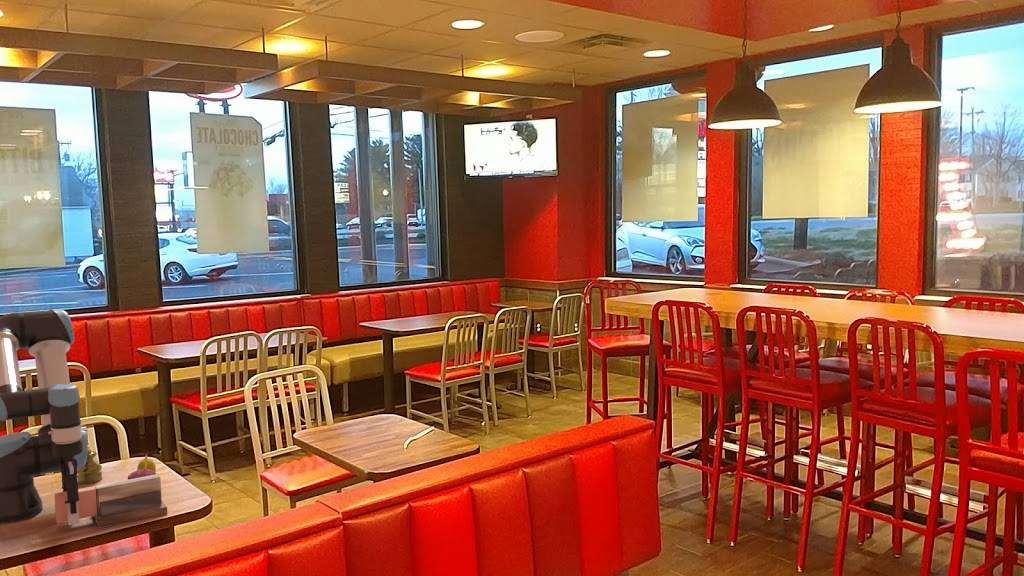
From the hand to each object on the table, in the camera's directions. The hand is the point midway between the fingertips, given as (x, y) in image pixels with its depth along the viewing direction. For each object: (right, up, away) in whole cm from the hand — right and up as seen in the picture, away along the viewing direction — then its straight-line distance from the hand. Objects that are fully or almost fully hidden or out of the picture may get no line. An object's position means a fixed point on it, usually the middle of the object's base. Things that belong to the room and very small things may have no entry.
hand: (72, 519), depth 228 cm
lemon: (+5, +2, +36) cm, 37 cm away
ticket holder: (+12, -1, +9) cm, 15 cm away
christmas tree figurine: (-15, +2, +38) cm, 41 cm away
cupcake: (+7, +1, +27) cm, 29 cm away
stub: (+1, 0, +1) cm, 1 cm away
